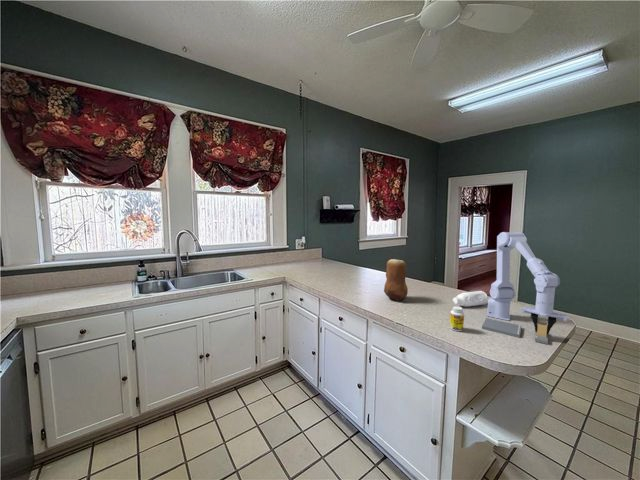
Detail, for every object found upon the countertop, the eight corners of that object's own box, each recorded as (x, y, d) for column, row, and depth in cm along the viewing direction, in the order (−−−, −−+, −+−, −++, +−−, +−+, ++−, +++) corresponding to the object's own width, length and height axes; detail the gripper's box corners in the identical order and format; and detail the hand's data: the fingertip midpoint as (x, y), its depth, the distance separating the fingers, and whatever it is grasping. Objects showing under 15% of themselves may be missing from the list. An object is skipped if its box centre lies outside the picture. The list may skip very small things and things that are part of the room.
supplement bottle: (452, 331, 120) (453, 309, 118) (448, 326, 125) (449, 305, 124) (465, 332, 119) (466, 310, 118) (460, 326, 124) (461, 305, 123)
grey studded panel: (481, 328, 122) (482, 325, 122) (486, 320, 131) (486, 317, 131) (519, 337, 113) (519, 334, 113) (521, 328, 122) (521, 325, 122)
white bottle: (449, 305, 153) (450, 291, 152) (475, 302, 158) (476, 289, 157) (459, 310, 145) (460, 296, 144) (487, 306, 150) (488, 293, 149)
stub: (535, 341, 110) (536, 326, 109) (535, 331, 119) (536, 317, 118) (547, 344, 107) (549, 329, 107) (547, 333, 117) (548, 320, 116)
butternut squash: (404, 296, 169) (405, 257, 166) (409, 303, 155) (411, 261, 153) (382, 295, 170) (383, 257, 167) (385, 302, 157) (386, 261, 154)
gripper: (522, 300, 113) (520, 330, 115) (568, 308, 104) (565, 341, 105) (523, 296, 118) (521, 325, 120) (567, 303, 109) (564, 334, 111)
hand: (541, 332), depth 113 cm, fingers closed on stub, 3 cm apart
